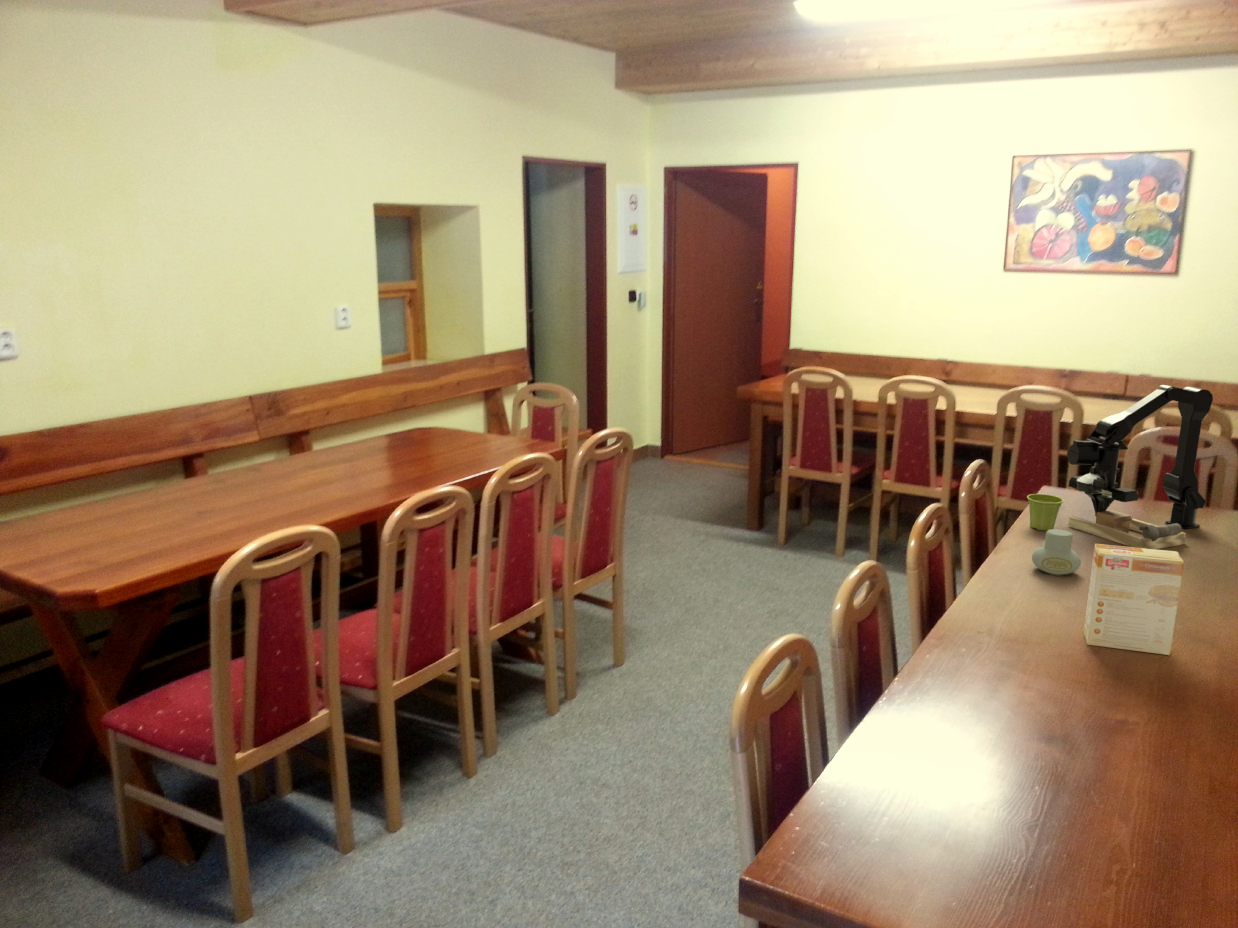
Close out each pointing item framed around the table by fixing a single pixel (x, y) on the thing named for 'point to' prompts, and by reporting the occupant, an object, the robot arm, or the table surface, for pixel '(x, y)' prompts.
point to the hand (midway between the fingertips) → (1098, 517)
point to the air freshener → (1056, 554)
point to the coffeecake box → (1133, 598)
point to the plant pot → (1043, 510)
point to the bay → (1151, 533)
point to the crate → (1114, 520)
